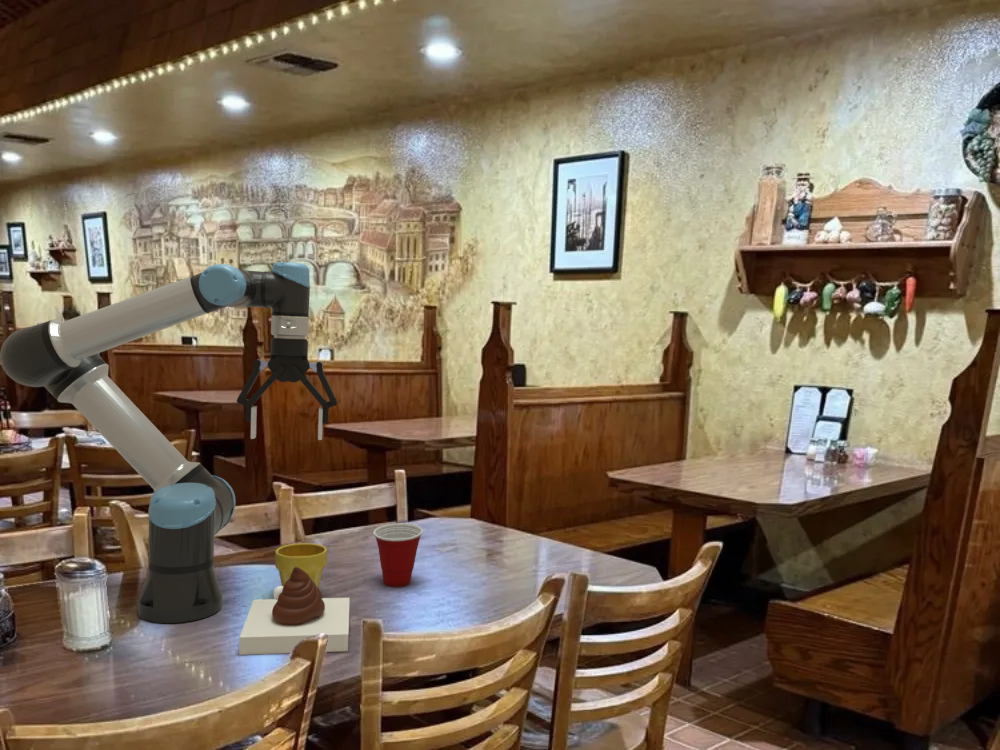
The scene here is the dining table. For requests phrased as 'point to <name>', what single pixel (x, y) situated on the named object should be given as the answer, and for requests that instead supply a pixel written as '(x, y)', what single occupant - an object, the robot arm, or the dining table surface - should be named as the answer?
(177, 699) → the dining table surface
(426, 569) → the dining table surface
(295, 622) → the poop emoji
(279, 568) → the plant pot
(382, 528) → the plastic cup
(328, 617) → the base board
